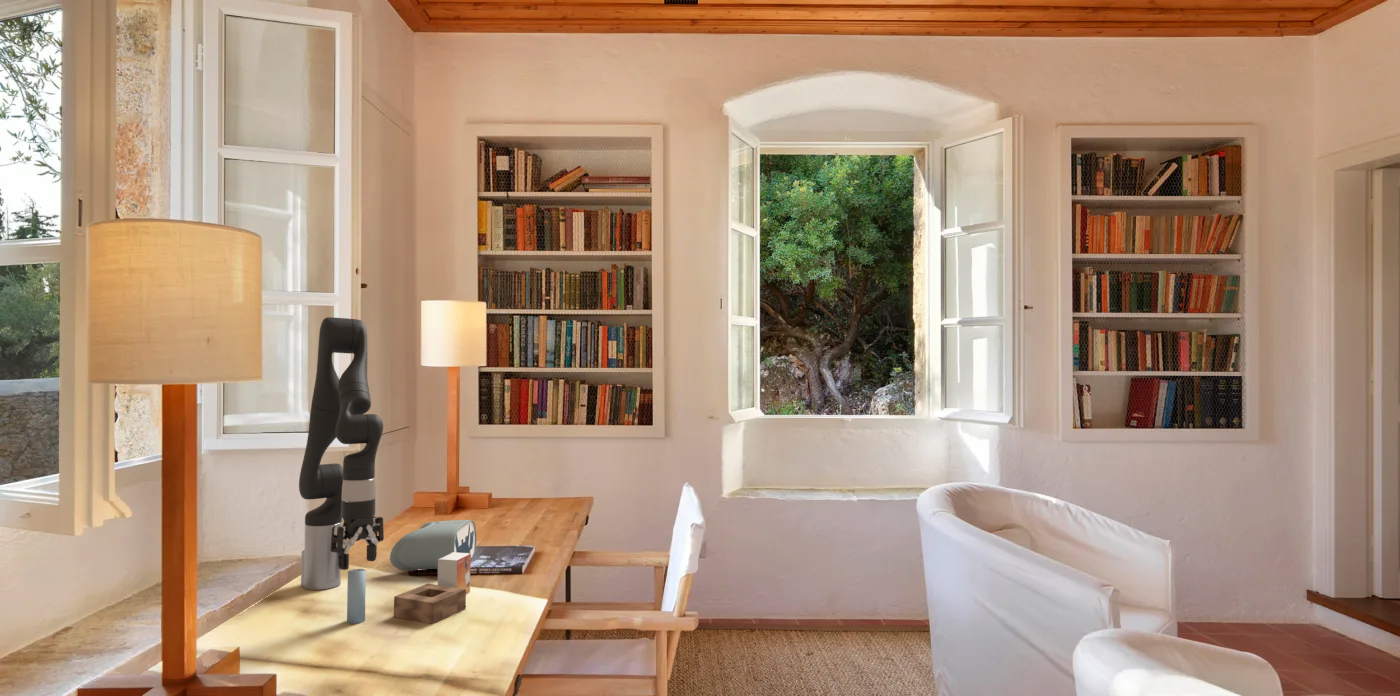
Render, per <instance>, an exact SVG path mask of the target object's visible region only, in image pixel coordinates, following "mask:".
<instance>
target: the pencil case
mask: <svg viewBox="0 0 1400 696" xmlns="http://www.w3.org/2000/svg"><path fill="white" fill-rule="evenodd" d="M476 547H477V528H476V523H475V521H474V520H472V519H460V520H458V519H456V520H453V519H452V520H441V521H439V520H438V521H435V520H434V521H427V522H425V523H424V524H423V525H421V527H420V528H418V529H416V530H414V531H411V532H409V533H407V534H405V535H404V536H402V537H401V538H400V539H399V540H398V541H397V542H396V543H395V544H394V546H393V547H392V548H391V551H390V554H389V560H390V563H391V565H392V566H393V567H394V568H397V570H401V571H405V572H415V571H414V570H415V569H422V570H423V569H436V570H438V559H440V558H443V557H445V556H447V555H449V554H451V553H452V552H457V553H470V554H471V558H472V559H473V557H474V555H475V552H476Z"/></svg>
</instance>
